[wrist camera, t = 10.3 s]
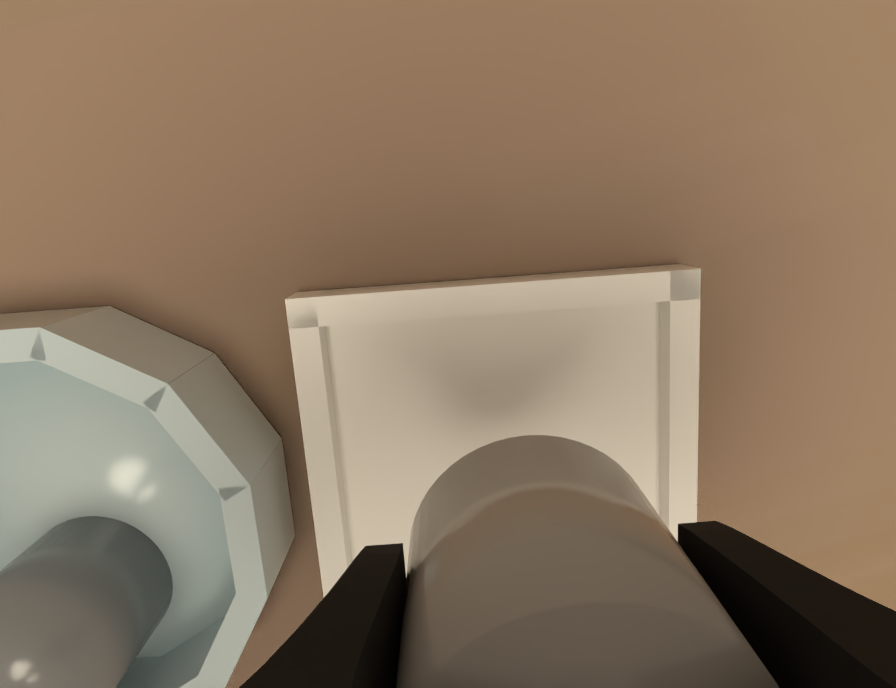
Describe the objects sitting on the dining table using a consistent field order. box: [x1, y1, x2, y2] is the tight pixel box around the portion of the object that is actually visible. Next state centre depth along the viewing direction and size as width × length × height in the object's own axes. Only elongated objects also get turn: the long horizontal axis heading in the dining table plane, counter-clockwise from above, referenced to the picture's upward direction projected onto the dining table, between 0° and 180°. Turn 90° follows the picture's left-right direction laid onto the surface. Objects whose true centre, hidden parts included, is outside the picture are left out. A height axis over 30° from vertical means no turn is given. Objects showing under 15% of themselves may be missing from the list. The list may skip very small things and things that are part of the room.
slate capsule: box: [0, 516, 173, 688], centre depth 17 cm, size 4×4×5 cm
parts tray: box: [285, 264, 701, 597], centre depth 19 cm, size 15×11×1 cm
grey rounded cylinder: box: [396, 435, 779, 688], centre depth 9 cm, size 4×4×5 cm
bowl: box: [0, 306, 295, 688], centre depth 18 cm, size 12×12×3 cm
